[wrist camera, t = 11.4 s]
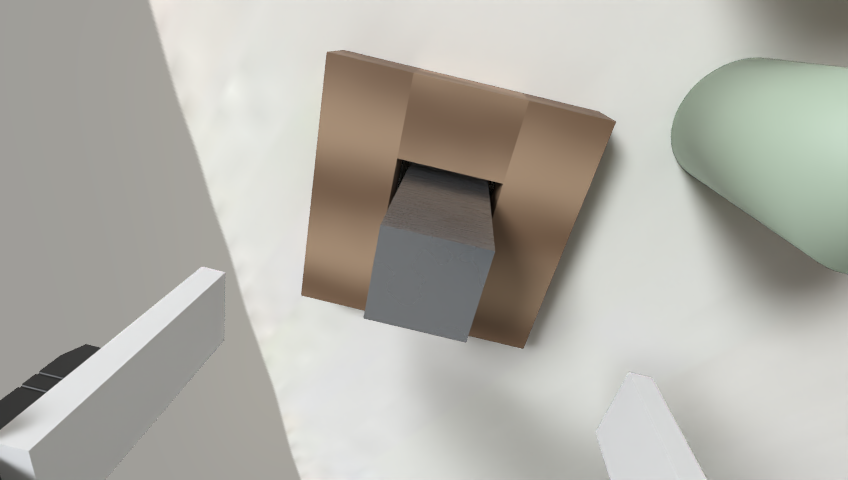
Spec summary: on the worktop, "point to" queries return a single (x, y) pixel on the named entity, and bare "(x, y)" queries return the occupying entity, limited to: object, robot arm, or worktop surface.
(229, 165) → the worktop surface
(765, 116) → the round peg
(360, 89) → the socket block
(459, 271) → the square peg
